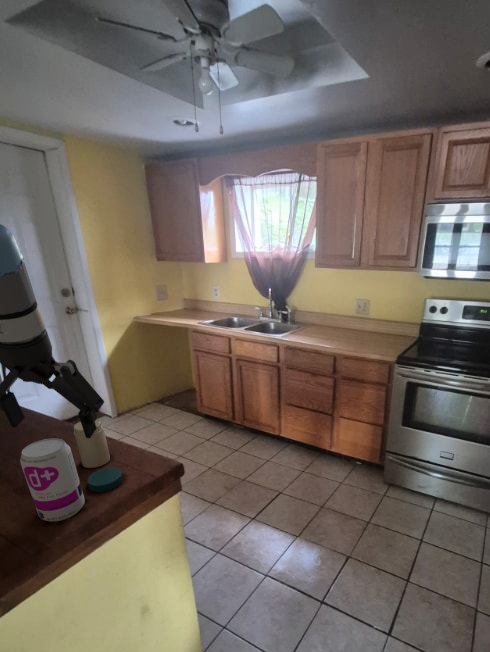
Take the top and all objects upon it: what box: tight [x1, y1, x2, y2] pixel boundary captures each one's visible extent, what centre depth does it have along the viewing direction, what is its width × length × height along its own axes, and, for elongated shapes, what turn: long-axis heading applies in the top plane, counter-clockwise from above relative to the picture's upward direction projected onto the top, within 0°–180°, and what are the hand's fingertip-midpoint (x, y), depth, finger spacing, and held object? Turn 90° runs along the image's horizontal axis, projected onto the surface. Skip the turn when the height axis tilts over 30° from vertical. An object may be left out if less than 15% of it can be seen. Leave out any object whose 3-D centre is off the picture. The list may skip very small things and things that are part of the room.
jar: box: [73, 418, 111, 469], centre depth 92 cm, size 6×6×10 cm
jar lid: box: [87, 467, 124, 493], centre depth 85 cm, size 7×7×2 cm
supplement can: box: [19, 437, 86, 522], centre depth 74 cm, size 8×8×15 cm
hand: (55, 427), depth 71 cm, fingers open, 13 cm apart
